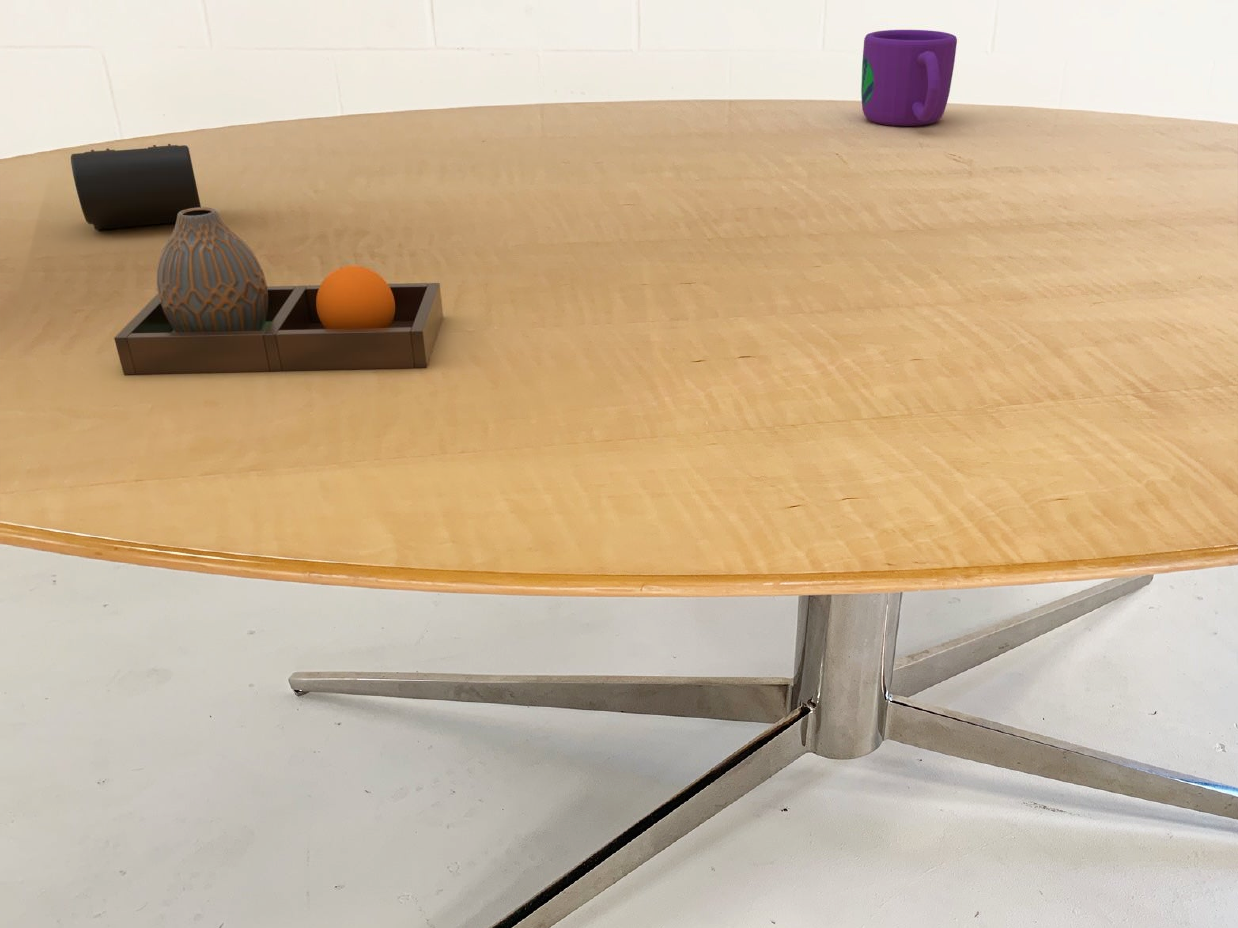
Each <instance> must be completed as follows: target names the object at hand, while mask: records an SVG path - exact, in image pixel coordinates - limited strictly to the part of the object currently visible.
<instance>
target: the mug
mask: <svg viewBox="0 0 1238 928" xmlns="http://www.w3.org/2000/svg"><path fill="white" fill-rule="evenodd" d="M957 43H958V39H957V36H956V35H954V34H952V33H949V32H945V31H938V30H927V29H887V30H877V31H873V32H870V33H867V34H866V35H865V36H864V39H863V50H862V63H861V88H860V93H861V94H860V95H861V107H862V108H861V109H862V113H863V115H864V116H865V118H866V119H867V120H868V121H870V122H872V123H875V124H879V125H883V126H884V125H885V126H891V127H921V126H928V125H931V124H934V123H936V122H938V121H939V120H941V119H942V117H943V116H944V114H945V111H946V109H947V108H946V107H947V104H948V100H949V96H950V93H951V86H952V81H953V74H954V68H955V61H956V53H957V46H958V45H957Z"/></svg>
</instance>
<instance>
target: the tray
mask: <svg viewBox="0 0 1238 928" xmlns="http://www.w3.org/2000/svg"><path fill="white" fill-rule="evenodd" d="M387 284H388V286H389V287H390V289H391V291H392V293H393V296H394V301H395V314H394V319H393V322H392V324H391V326H390V328H359V329H325V327H324V326H323V325H322V323H321V321H320V319H319V316H318V313H317V307H316V298H317V293H318V290H319V287H320V285H321V284H313V285H311V284H309V285H308V284H307V285H270V286H268V285H267V290H268V312H267V317H266V321H265V324H264V326H263V328H262V330H261V331H220V332H175V330H174V329H173V328H172V326H171V325H170V323H169V321H168V320H167V318H166V316H165V314H164V311H163V309H162V306H161V302H160V299H159V294H158V293H157V294H156V295H155V296H154V297H153V298H152V299H151V300H150V301H149V302H148V303H147V304H146V305H145V306H144V307H143V308H142V309H141V310H140V311H139V312H138V313H137V314H136V315H135V316H134V317H133V318H132V320H130V321H129V322H128V323H127V324H126V325H125V326H124V328H122V329H121V330H120V331H119V333H117V334H116V335H115V336H114V343H115V347H116V350H117V355H118V358H119V362H120V365H121V369H122V373H123V375H124V376H125V377H126V376H162V375H164V376H167V375H168V376H169V375H206V374H207V375H208V374H209V375H210V374H247V373H249V374H250V373H252V374H253V373H289V372H290V373H292V372H294V373H295V372H298V373H299V372H334V371H335V372H337V371H338V372H340V371H373V370H374V371H376V370H377V371H378V370H381V371H382V370H383V371H384V370H415V369H416V370H420V369H421V370H422V369H423V370H424V369H425V370H426V369H428V366H429V363H430V360H431V357H432V354H433V350H434V347H435V344H436V341H437V338H438V335H439V333H440V328H441V326H442V322H443V320H444V311H443V302H442V292H441V283H440V282H412V283H411V282H410V283H409V282H408V283H405V282H404V283H387Z"/></svg>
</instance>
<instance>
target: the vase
mask: <svg viewBox="0 0 1238 928" xmlns="http://www.w3.org/2000/svg"><path fill="white" fill-rule="evenodd" d="M156 271H157V272H156V287H157V288H156V289H157V294H159V299H160V302H161V306H162V309H163V311H164V314H165V316H166V318H167V320H168V321H169V323H170V325H171V326H172V328H173V329H174V330H175V332H220V331H261V330H262V328H263V326H264V324H265V321H266V317H267V312H268V290H267V286H268V284H267V280H266V276H265V273H264V270H263V268H262V266H261V264H260V262H259V260H258V258H257V256H256V253H254V251H253V250H252V249H251V248H250V246H249V245H248V244H247V243H246V241H244V240H243V239H242V238H241V237H240V236H239V235H238V234H237V233H236V232H235V231H233V230H232V229H231V228H230V227H229V226H228V225H227V224H226V223H225V221H224V220H223V219H222V217H221V216H220V214H219V212H218V211H217V210H216V209H215V208H212V207H207V206H201V207H198V208H190V209H185V210H182V211H180V212H179V213H178V215H177V220H176V222H175V225H174V228H173V231H172V232H171V234H170V236H169V238H168V239H167V242H166V244H165V245H164V248H163V250H162V251H161V253H160V256H159V260H158V264H157V270H156Z"/></svg>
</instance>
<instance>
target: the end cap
mask: <svg viewBox="0 0 1238 928" xmlns="http://www.w3.org/2000/svg"><path fill="white" fill-rule="evenodd" d="M70 164H71V170H72V171H71V172H72V176H73V181H74V185H75V189H76V194H77V198H78V202H79V205H80V208H81V211H82V214H83V217H84V220H85V222H86V223H87V224H88V225H93V228H94V230H95V231H98V230H99V231H100V230H110V229H120V228H129V227H130V228H131V227H140V226H152V225H163V224H173V223H176V220H177V215H178V213H179V212H180V211H182V210H185V209H190V208H198V207H202V205H201V200H200V196H199V190H198V186H197V182H196V177H195V172H194V167H193V162H192V157H191V153H190V148H189V147H188V145H178V144H172V145H171V143H168V144H167V145H160V146H157V145H156V144H153V145H152V146H148V147H147V148H143V147H142V148H133V149H131V148H130V149H119V150H117V149H110V148H108V147H107V148H106V149H105V150H94V149H91V150H90V151H85V152H77V153H72V154H71V155H70Z"/></svg>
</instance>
